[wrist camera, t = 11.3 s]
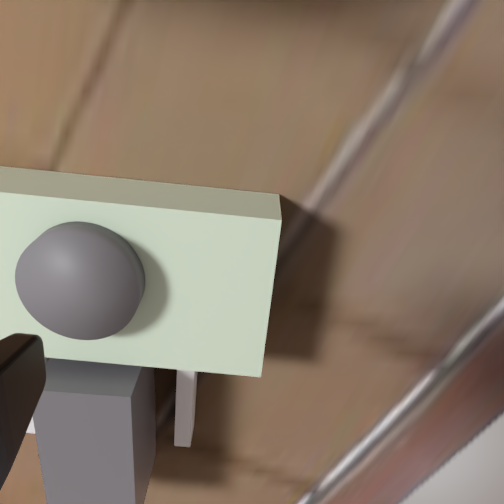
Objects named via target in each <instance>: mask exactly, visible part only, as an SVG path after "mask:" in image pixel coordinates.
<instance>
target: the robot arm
mask: <svg viewBox="0 0 504 504" xmlns="http://www.w3.org/2000/svg"><path fill="white" fill-rule="evenodd" d="M45 383H46V365H45V355H44V346H43V341H42V338H41V337H40V336H39V335H35V334H25V333H14V334H12V335H9V336H7V337H5V338H3V339H1V340H0V490H1V488H2V486H3V484H4V482H5V480H6V478H7V476H8V474H9V472H10V470H11V467H12V465H13V463H14V460H15V458H16V456H17V453H18V451H19V448H20V446H21V444H22V441H23V439H24V436H25V434H26V431H27V429H28V426H29V424H30V422H31V419H32V417H33V414H34V412H35V409H36V407H37V404H38V402H39V399H40V397H41V395H42V392H43V390H44V387H45Z"/></svg>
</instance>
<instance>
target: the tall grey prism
mask: <svg viewBox="0 0 504 504" xmlns="http://www.w3.org/2000/svg"><path fill="white" fill-rule="evenodd" d="M45 365H46V383H45V387H44V390H43V392H42V395H41V397H40V399H39V402H38V404H37V407H36V409H35V412H34V414H33V422H34V428H35V434H36V440H37V446H38V453H39V459H40V465H41V471H42V477H43V483H44V490H45V496H46V502H47V504H144V500H145V496H146V492H147V488H148V484H149V481H150V477H151V473H152V469H153V465H154V461H155V457H156V418H155V367H145V366H134V365H123V364H112V363H101V362H91V361H80V360H69V359H58V358H49V360H48V361H47V363H46V364H45Z"/></svg>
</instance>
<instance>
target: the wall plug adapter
mask: <svg viewBox="0 0 504 504" xmlns="http://www.w3.org/2000/svg"><path fill="white" fill-rule="evenodd" d="M281 223H282V217H281V208H280V198H279V194H271V193H262V192H252V191H242V190H232V189H222V188H212V187H202V186H192V185H183V184H173V183H163V182H153V181H143V180H133V179H123V178H113V177H103V176H94V175H84V174H74V173H64V172H54V171H44V170H34V169H24V168H14V167H5V166H0V340H1V339H3V338H5V337H7V336H9V335H12V334H14V333H25V334H35V335H39V336H40V337H41V338H42V341H43V346H44V355H45V364H46V363H47V361H48V359H47V358H58V359H69V360H80V361H91V362H101V363H112V364H123V365H134V366H145V367H156V368H166V369H177V383H176V409H175V435H174V446H182V447H190V445H191V440H192V434H193V428H194V420H195V403H196V387H197V371H199V372H210V373H221V374H231V375H242V376H253V377H261V372H262V365H263V357H264V350H265V342H266V335H267V327H268V320H269V312H270V305H271V297H272V290H273V282H274V275H275V268H276V260H277V253H278V245H279V238H280V230H281ZM26 433H35V428H34V422H33V417H32V419H31V422H30V424H29V426H28V429H27V431H26Z"/></svg>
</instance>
